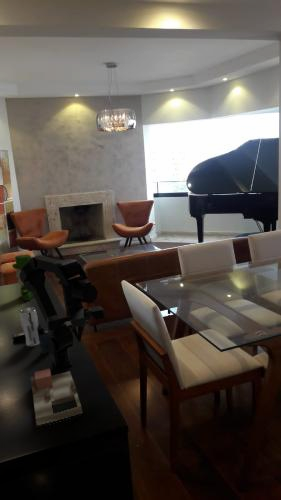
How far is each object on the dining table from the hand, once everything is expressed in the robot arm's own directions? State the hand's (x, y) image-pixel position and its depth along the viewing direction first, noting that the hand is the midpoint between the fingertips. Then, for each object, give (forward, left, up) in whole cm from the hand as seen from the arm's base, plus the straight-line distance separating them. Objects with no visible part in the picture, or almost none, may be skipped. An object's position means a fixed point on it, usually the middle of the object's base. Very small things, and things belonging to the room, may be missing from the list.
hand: (79, 341), depth 129 cm
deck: (+9, -11, -13) cm, 20 cm away
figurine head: (-107, -14, -13) cm, 109 cm away
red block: (+3, -14, -11) cm, 18 cm away
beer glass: (-37, -15, -13) cm, 42 cm away
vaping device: (-26, -10, -13) cm, 31 cm away
